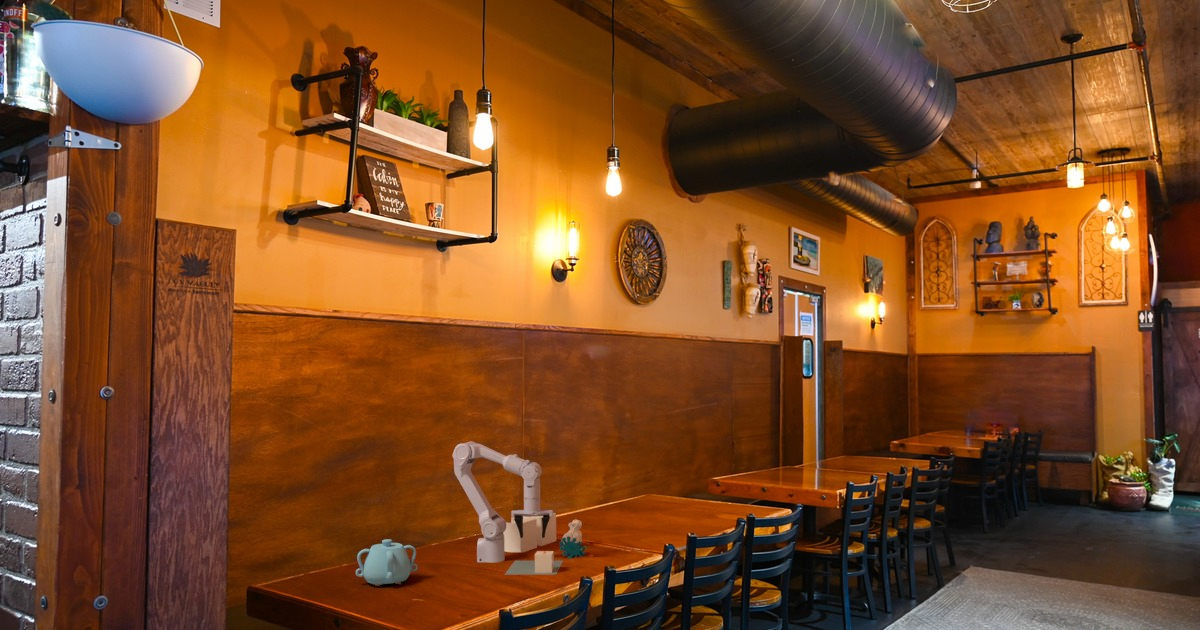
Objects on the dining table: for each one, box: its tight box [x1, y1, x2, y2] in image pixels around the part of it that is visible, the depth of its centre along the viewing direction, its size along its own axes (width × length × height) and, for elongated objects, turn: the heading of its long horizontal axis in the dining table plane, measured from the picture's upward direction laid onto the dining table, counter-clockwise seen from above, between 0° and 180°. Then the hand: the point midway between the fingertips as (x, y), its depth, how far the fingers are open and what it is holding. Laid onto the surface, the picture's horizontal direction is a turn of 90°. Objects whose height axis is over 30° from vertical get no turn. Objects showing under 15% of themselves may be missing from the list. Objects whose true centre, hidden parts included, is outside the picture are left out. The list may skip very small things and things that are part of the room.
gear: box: [558, 536, 588, 559], centre depth 300 cm, size 11×6×10 cm
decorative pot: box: [355, 538, 419, 586], centre depth 270 cm, size 16×16×14 cm
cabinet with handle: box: [534, 550, 555, 573], centre depth 276 cm, size 6×6×6 cm
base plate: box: [504, 560, 564, 576], centre depth 282 cm, size 17×20×1 cm
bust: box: [560, 518, 583, 548], centre depth 321 cm, size 12×8×11 cm
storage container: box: [503, 512, 557, 553], centre depth 324 cm, size 25×11×11 cm, turn 151°
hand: (532, 537), depth 291 cm, fingers open, 7 cm apart
